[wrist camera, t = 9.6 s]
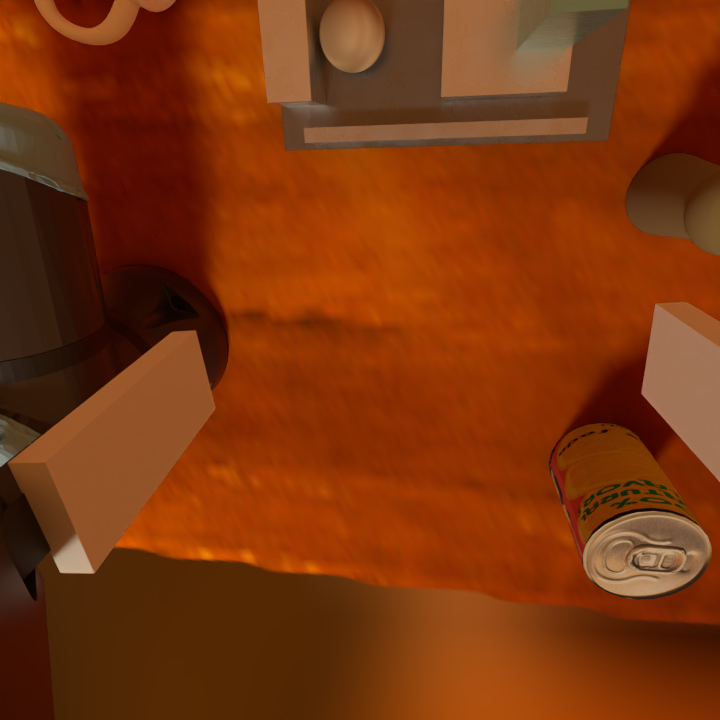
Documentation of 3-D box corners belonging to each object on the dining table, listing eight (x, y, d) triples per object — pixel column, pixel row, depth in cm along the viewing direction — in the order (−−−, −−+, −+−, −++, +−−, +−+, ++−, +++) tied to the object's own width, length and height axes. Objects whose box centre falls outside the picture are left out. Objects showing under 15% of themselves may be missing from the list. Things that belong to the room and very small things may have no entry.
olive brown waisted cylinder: (639, 148, 36) (718, 152, 26) (725, 156, 35) (839, 162, 25) (614, 231, 38) (678, 262, 29) (694, 239, 38) (786, 274, 28)
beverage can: (551, 423, 46) (587, 510, 35) (653, 422, 45) (722, 511, 34) (546, 498, 50) (578, 597, 39) (640, 498, 48) (700, 601, 38)
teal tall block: (440, 100, 35) (444, 80, 23) (445, -39, 31) (452, -144, 20) (556, 95, 34) (621, 71, 22) (573, -49, 30) (661, -168, 19)
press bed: (290, 150, 39) (265, 151, 33) (272, -69, 33) (238, -114, 28) (601, 140, 36) (633, 140, 30) (640, -105, 30) (690, -164, 24)
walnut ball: (345, 78, 36) (308, 73, 33) (343, 6, 34) (303, -7, 31) (397, 72, 34) (362, 65, 30) (397, -5, 32) (360, -21, 29)
